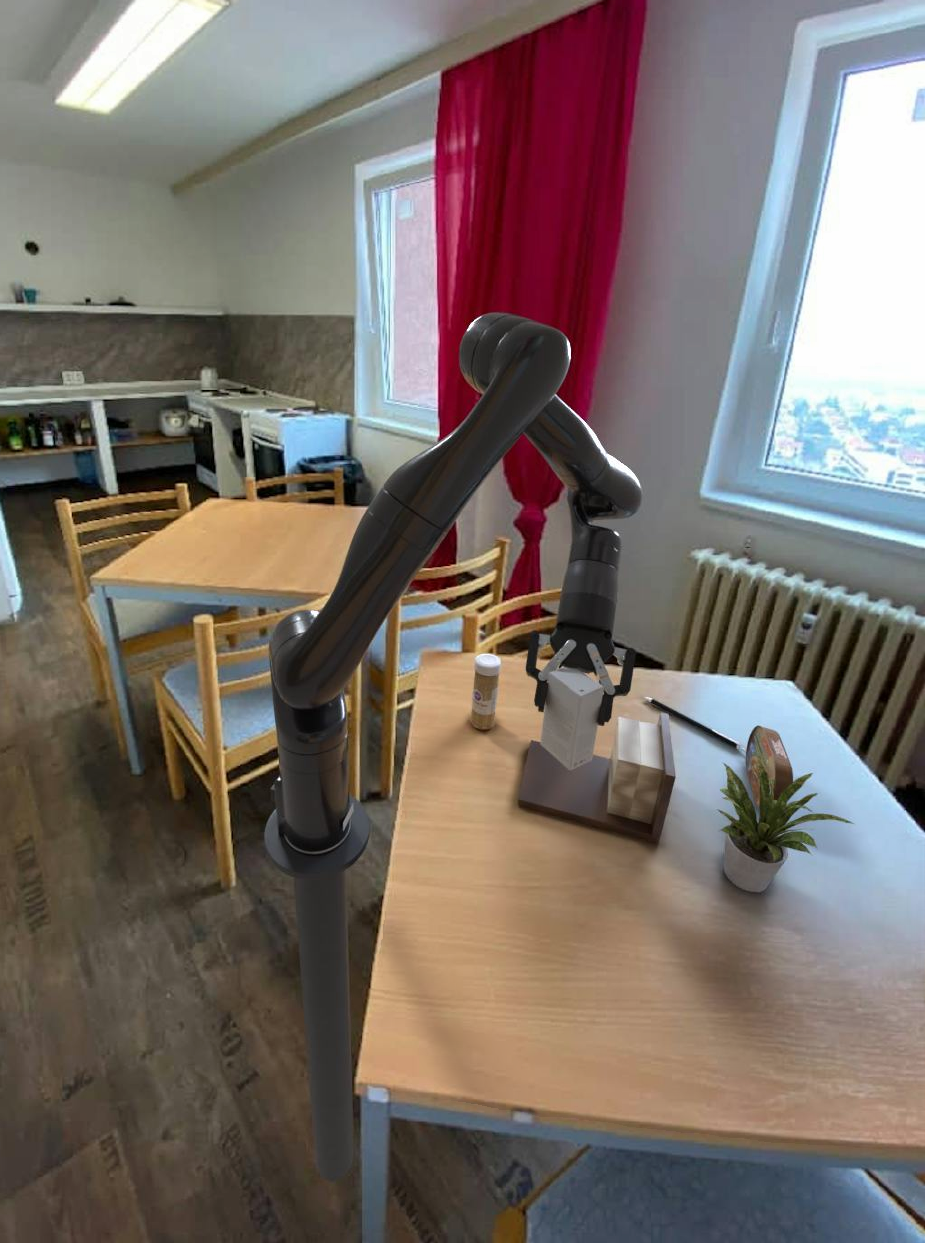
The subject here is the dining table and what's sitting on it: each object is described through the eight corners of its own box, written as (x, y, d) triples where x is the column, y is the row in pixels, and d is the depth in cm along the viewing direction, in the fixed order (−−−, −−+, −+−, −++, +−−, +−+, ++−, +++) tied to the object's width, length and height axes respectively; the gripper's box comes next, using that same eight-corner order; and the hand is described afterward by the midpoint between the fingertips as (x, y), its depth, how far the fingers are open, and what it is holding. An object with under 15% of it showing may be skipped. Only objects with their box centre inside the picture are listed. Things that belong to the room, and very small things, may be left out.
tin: (741, 754, 99) (754, 713, 96) (762, 758, 98) (775, 718, 95) (759, 821, 86) (774, 777, 83) (783, 827, 85) (799, 783, 82)
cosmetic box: (593, 761, 78) (606, 687, 74) (569, 772, 76) (581, 697, 72) (561, 734, 83) (571, 663, 78) (538, 743, 81) (547, 671, 77)
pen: (744, 754, 99) (746, 749, 99) (642, 699, 113) (642, 694, 112) (747, 751, 100) (748, 746, 99) (644, 697, 113) (645, 692, 113)
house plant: (816, 861, 80) (853, 769, 74) (822, 949, 69) (867, 848, 63) (702, 817, 87) (727, 729, 80) (691, 890, 76) (719, 795, 69)
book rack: (517, 805, 88) (525, 741, 84) (530, 745, 100) (537, 686, 96) (658, 843, 82) (675, 777, 78) (654, 775, 94) (668, 713, 90)
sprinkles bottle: (465, 724, 105) (470, 661, 100) (477, 711, 109) (482, 649, 104) (488, 734, 103) (494, 670, 98) (499, 720, 106) (505, 658, 101)
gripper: (535, 582, 80) (513, 701, 75) (646, 599, 76) (632, 727, 70) (537, 599, 87) (517, 710, 81) (639, 616, 82) (625, 734, 77)
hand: (570, 717), depth 76 cm, fingers closed on cosmetic box, 7 cm apart
